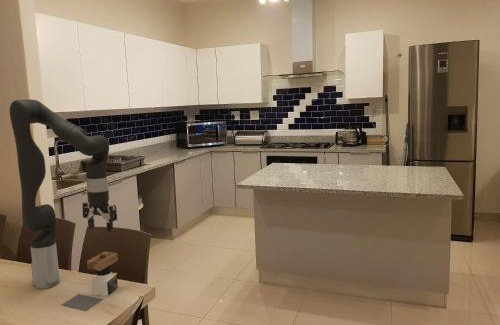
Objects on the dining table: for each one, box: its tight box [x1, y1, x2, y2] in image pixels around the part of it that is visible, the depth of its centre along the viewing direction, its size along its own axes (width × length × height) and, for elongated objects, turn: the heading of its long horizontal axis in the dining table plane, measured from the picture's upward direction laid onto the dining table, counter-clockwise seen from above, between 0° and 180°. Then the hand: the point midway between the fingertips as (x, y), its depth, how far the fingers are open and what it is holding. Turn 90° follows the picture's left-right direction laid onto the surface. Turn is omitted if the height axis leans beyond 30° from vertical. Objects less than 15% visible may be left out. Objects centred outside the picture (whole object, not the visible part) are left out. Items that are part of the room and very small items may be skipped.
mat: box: [60, 293, 104, 312], centre depth 149 cm, size 12×9×1 cm
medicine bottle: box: [90, 264, 119, 297], centre depth 156 cm, size 7×7×12 cm
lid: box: [86, 251, 119, 271], centre depth 155 cm, size 6×10×4 cm, turn 159°
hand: (100, 230), depth 153 cm, fingers open, 8 cm apart
